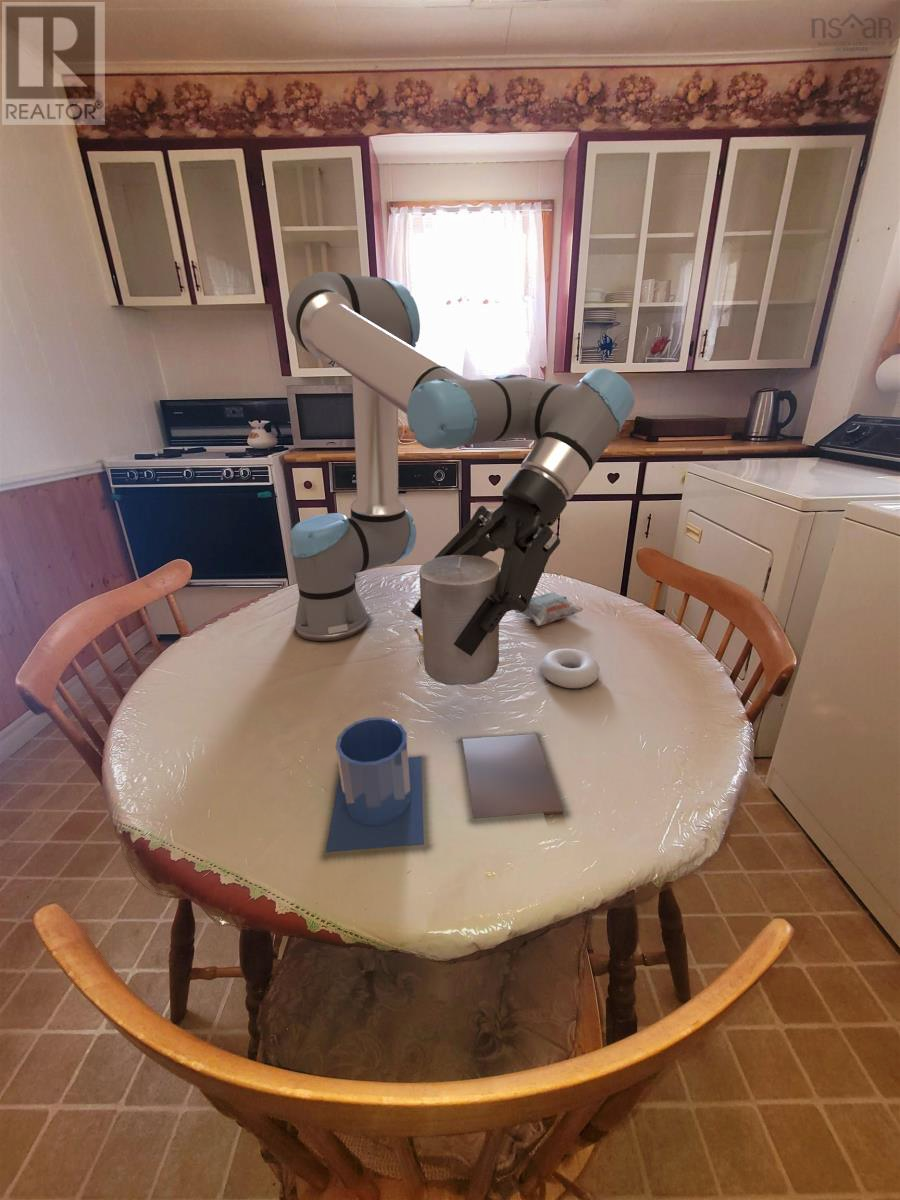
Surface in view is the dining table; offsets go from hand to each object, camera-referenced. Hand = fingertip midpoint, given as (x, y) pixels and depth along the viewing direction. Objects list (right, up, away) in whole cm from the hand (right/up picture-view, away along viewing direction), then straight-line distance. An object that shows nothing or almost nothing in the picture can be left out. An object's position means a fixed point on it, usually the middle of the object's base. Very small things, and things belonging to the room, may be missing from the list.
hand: (439, 632), depth 59 cm
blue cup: (-8, -21, +2) cm, 22 cm away
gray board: (+9, -19, +6) cm, 22 cm away
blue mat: (-8, -21, +2) cm, 23 cm away
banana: (-1, -5, +37) cm, 37 cm away
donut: (+22, -10, +26) cm, 36 cm away
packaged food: (+23, 0, +46) cm, 52 cm away
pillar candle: (+3, -5, +4) cm, 7 cm away
